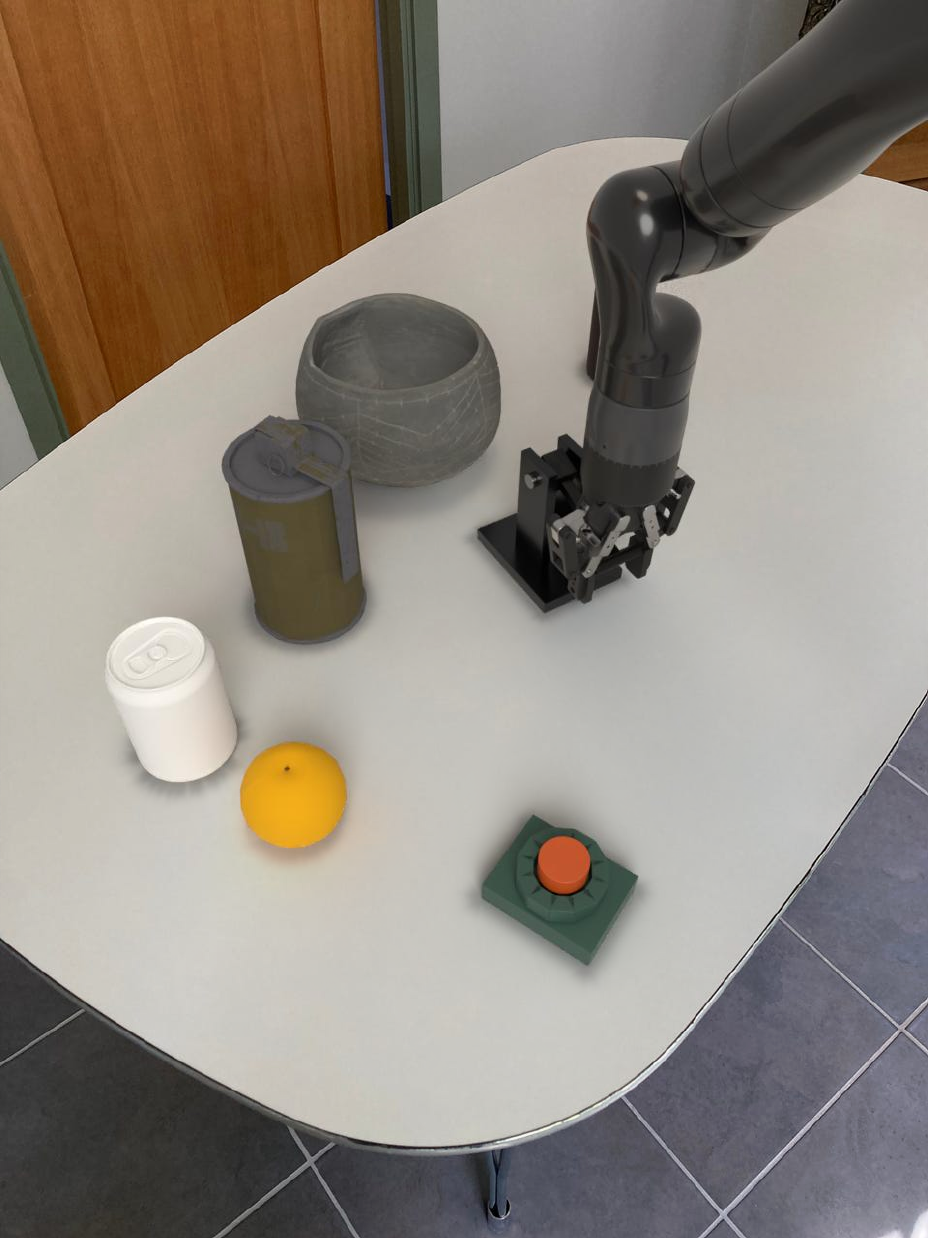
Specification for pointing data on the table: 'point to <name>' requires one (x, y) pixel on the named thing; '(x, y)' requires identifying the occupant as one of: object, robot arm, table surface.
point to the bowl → (402, 387)
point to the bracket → (538, 531)
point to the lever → (573, 495)
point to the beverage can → (171, 698)
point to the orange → (293, 794)
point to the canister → (297, 527)
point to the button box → (559, 916)
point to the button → (563, 865)
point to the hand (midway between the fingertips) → (608, 583)
